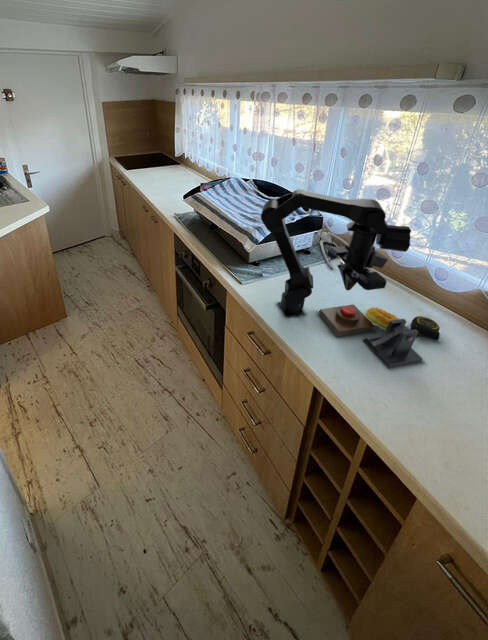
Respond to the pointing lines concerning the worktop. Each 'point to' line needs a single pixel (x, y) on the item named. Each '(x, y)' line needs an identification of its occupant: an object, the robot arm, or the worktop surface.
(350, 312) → the button
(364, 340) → the lever
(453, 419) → the worktop surface
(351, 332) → the button block
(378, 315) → the yellow donut
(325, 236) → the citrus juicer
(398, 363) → the bracket
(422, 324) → the tape measure
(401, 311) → the worktop surface
